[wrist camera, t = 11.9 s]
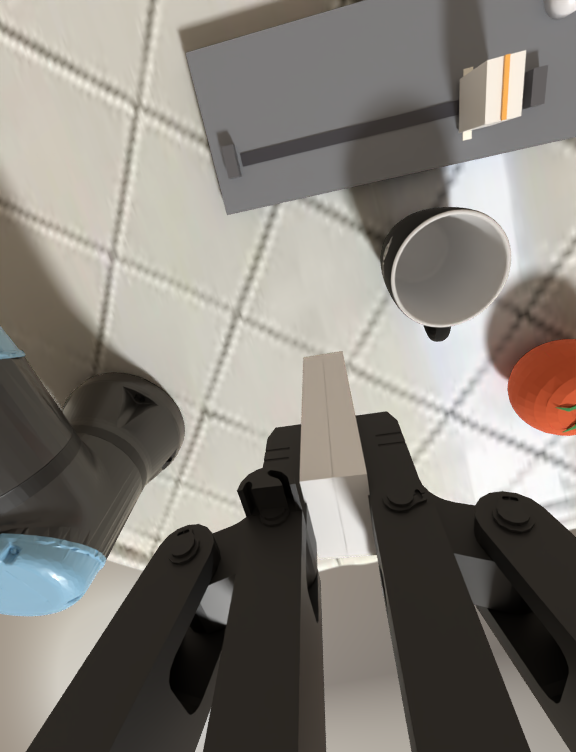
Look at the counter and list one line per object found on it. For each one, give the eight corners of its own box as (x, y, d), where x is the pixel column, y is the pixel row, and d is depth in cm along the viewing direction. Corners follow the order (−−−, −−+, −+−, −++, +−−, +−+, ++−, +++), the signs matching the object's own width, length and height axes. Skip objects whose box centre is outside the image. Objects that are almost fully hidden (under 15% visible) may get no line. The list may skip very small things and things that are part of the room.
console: (231, 213, 36) (223, 216, 33) (192, 60, 30) (178, 45, 27) (571, 137, 32) (601, 131, 28) (596, -57, 26) (638, -91, 23)
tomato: (473, 382, 43) (515, 433, 34) (538, 309, 39) (606, 346, 30) (538, 417, 45) (594, 474, 36) (608, 351, 41) (691, 397, 32)
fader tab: (458, 133, 30) (486, 124, 25) (459, 79, 28) (488, 59, 24) (489, 126, 30) (522, 115, 25) (492, 70, 28) (527, 48, 23)
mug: (365, 214, 35) (384, 225, 26) (461, 191, 34) (515, 194, 25) (379, 328, 41) (399, 369, 32) (462, 312, 39) (508, 350, 30)
